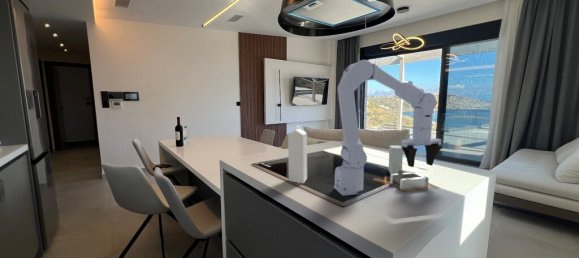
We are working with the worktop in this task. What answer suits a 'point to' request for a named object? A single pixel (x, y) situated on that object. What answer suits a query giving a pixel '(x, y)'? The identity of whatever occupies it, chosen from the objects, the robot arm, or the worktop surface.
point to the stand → (413, 189)
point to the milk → (297, 155)
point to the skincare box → (395, 159)
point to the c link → (410, 181)
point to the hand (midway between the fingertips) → (420, 165)
